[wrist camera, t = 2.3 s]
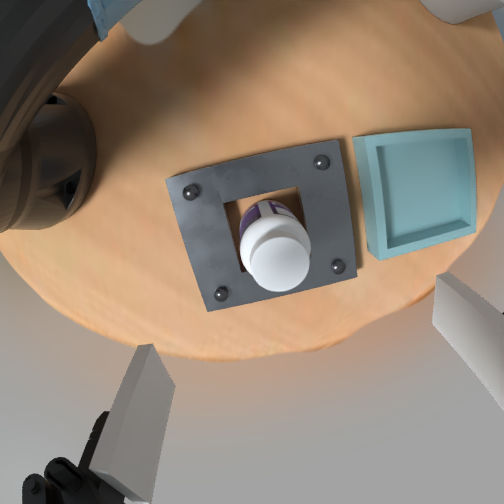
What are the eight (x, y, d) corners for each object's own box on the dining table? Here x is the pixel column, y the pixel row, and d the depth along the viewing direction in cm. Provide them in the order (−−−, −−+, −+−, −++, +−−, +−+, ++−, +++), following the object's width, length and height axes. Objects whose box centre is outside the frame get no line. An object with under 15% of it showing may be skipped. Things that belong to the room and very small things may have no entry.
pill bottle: (248, 258, 29) (252, 309, 20) (232, 207, 27) (228, 239, 18) (300, 244, 29) (326, 288, 20) (287, 192, 27) (311, 216, 18)
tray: (367, 250, 29) (379, 260, 27) (351, 137, 25) (364, 136, 22) (461, 225, 29) (475, 232, 26) (454, 128, 25) (470, 128, 22)
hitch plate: (208, 304, 31) (207, 314, 29) (169, 177, 26) (163, 180, 24) (352, 271, 30) (358, 279, 28) (333, 139, 25) (339, 139, 23)
